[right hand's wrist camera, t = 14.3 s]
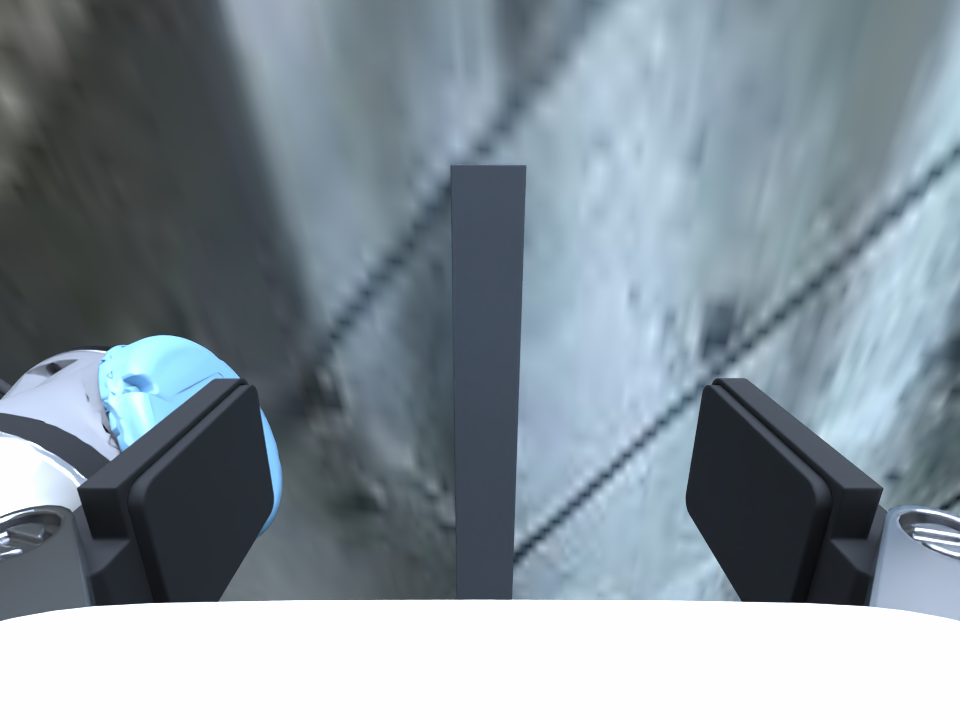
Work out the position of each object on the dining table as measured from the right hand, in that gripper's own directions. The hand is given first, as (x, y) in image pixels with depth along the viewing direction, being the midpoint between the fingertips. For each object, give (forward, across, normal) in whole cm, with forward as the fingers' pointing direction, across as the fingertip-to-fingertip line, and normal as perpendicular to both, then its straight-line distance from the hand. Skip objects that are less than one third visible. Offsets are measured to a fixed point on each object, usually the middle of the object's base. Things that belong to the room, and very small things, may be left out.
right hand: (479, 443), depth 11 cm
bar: (+31, 0, -25) cm, 40 cm away
